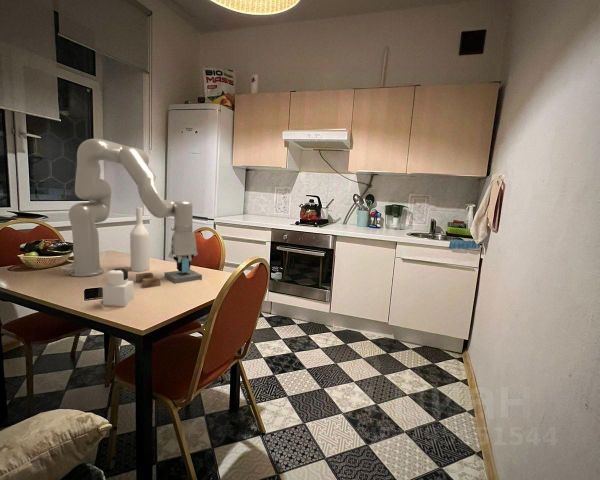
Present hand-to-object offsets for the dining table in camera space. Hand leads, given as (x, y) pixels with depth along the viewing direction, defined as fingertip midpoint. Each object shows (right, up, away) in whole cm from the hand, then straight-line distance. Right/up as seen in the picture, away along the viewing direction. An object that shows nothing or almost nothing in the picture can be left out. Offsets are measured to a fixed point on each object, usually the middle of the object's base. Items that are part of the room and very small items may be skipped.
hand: (183, 269), depth 142 cm
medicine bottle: (-11, -9, -31) cm, 34 cm away
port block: (0, -4, +1) cm, 4 cm away
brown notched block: (-11, -5, -10) cm, 16 cm away
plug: (0, -1, 0) cm, 1 cm away
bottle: (-26, -1, +12) cm, 28 cm away
